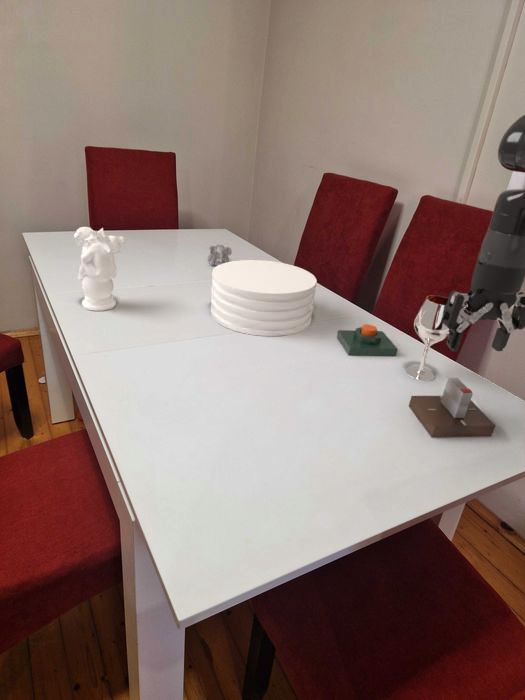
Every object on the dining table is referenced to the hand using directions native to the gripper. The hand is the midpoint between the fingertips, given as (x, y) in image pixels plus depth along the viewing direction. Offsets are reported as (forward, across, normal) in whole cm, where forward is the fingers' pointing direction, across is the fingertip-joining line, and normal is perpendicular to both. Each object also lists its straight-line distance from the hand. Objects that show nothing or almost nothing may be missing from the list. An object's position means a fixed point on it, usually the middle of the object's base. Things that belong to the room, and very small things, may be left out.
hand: (474, 349), depth 80 cm
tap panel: (+16, 0, 0) cm, 16 cm away
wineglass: (+16, -2, -18) cm, 24 cm away
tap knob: (+13, 0, 0) cm, 13 cm away
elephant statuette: (+15, +38, -95) cm, 103 cm away
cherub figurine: (+15, +72, -55) cm, 92 cm away
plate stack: (+15, +30, -51) cm, 61 cm away
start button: (+12, +6, -31) cm, 34 cm away
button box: (+15, +6, -32) cm, 36 cm away
